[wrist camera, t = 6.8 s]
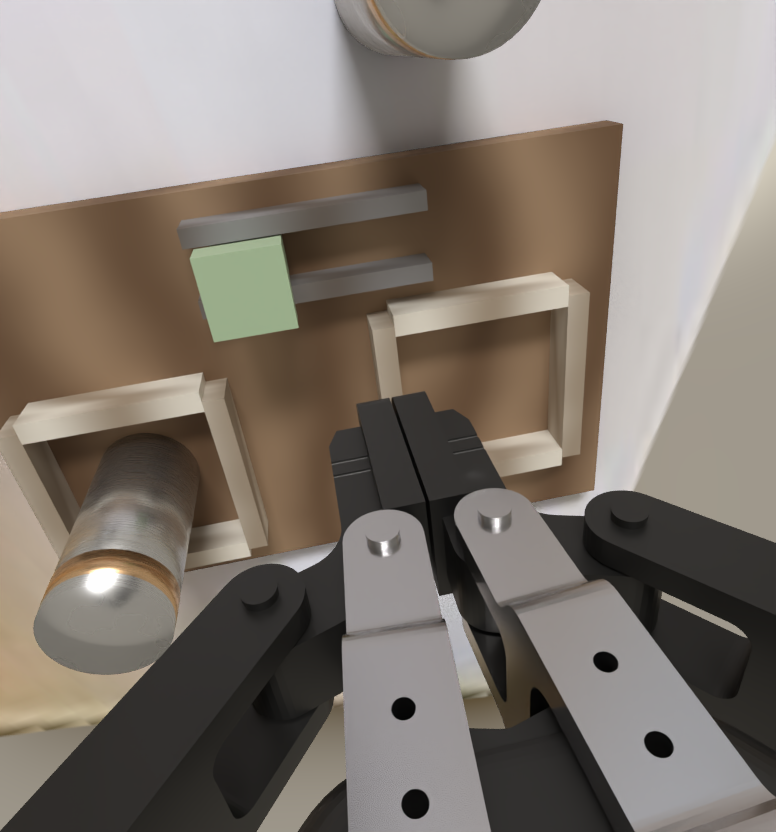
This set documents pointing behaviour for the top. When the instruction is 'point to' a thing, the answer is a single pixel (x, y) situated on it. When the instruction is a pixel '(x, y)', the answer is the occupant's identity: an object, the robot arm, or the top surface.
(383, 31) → the cylinder
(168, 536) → the seated billet
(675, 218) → the top surface
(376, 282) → the pallet
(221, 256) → the green notched block
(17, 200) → the top surface
